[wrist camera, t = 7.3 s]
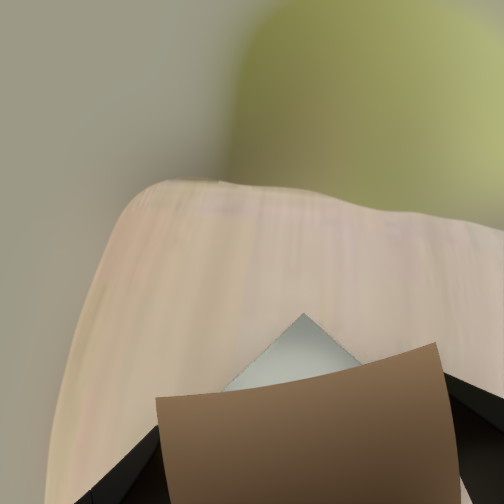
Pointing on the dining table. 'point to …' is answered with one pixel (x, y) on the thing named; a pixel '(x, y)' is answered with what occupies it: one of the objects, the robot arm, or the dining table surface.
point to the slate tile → (295, 358)
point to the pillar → (318, 439)
